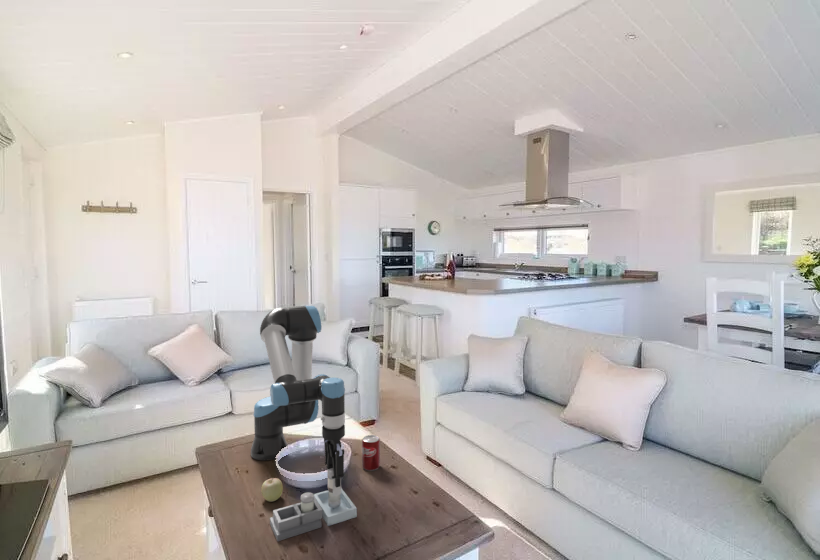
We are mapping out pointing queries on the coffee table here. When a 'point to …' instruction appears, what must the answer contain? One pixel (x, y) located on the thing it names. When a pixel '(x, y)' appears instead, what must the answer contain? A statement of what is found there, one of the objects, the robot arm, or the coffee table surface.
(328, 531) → the coffee table surface
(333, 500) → the cylinder
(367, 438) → the soda can
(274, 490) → the fruit
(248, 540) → the coffee table surface
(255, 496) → the coffee table surface
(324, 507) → the tray
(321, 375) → the robot arm
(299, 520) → the block
